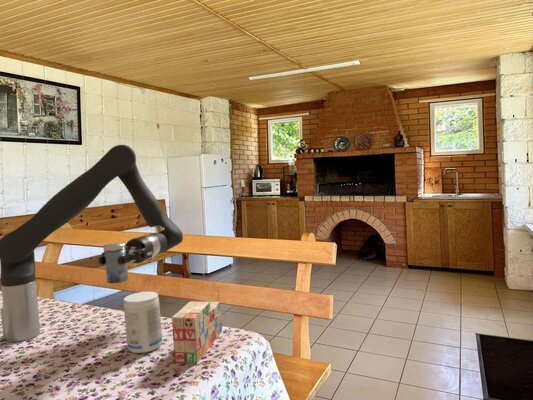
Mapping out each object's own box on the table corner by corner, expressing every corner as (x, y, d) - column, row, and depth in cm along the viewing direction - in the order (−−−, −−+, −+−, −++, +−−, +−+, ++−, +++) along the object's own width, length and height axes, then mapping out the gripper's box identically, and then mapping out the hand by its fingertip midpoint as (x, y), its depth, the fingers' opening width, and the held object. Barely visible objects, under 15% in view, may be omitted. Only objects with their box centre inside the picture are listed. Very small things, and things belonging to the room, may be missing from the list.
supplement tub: (159, 337, 118) (155, 289, 117) (165, 349, 109) (162, 297, 108) (125, 344, 114) (121, 294, 113) (129, 357, 105) (125, 303, 104)
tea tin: (102, 283, 106) (98, 246, 105) (114, 277, 111) (111, 242, 111) (120, 283, 104) (117, 246, 104) (132, 277, 110) (129, 242, 109)
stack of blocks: (203, 330, 122) (200, 291, 121) (222, 331, 121) (220, 291, 120) (174, 363, 101) (171, 316, 100) (197, 364, 100) (194, 316, 99)
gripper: (121, 236, 123) (85, 247, 106) (163, 235, 120) (133, 246, 103) (123, 260, 123) (87, 274, 107) (165, 259, 120) (135, 274, 104)
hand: (110, 260), depth 105 cm, fingers closed on tea tin, 5 cm apart
